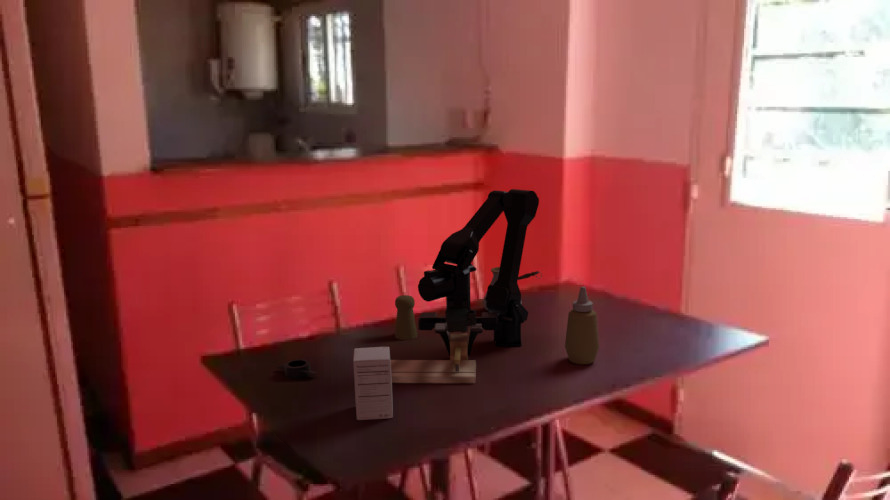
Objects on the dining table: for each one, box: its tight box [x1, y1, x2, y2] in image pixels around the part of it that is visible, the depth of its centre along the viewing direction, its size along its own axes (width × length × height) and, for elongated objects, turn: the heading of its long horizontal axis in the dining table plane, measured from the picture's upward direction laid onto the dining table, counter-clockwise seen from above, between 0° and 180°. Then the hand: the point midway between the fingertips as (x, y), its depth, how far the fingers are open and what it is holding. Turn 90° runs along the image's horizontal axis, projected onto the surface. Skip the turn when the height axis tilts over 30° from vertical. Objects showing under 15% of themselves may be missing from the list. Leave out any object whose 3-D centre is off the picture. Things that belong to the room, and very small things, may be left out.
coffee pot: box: [482, 266, 543, 311], centre depth 206 cm, size 21×12×15 cm, turn 37°
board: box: [390, 359, 477, 384], centre depth 165 cm, size 22×10×2 cm, turn 86°
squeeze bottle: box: [564, 286, 600, 365], centre depth 170 cm, size 8×8×18 cm
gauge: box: [449, 333, 469, 372], centre depth 168 cm, size 4×15×6 cm, turn 176°
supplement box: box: [352, 346, 394, 421], centre depth 145 cm, size 7×7×13 cm
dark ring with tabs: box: [277, 358, 319, 380], centre depth 167 cm, size 8×10×3 cm
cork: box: [394, 294, 418, 341], centre depth 191 cm, size 6×6×11 cm
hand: (459, 355), depth 172 cm, fingers closed on gauge, 4 cm apart
